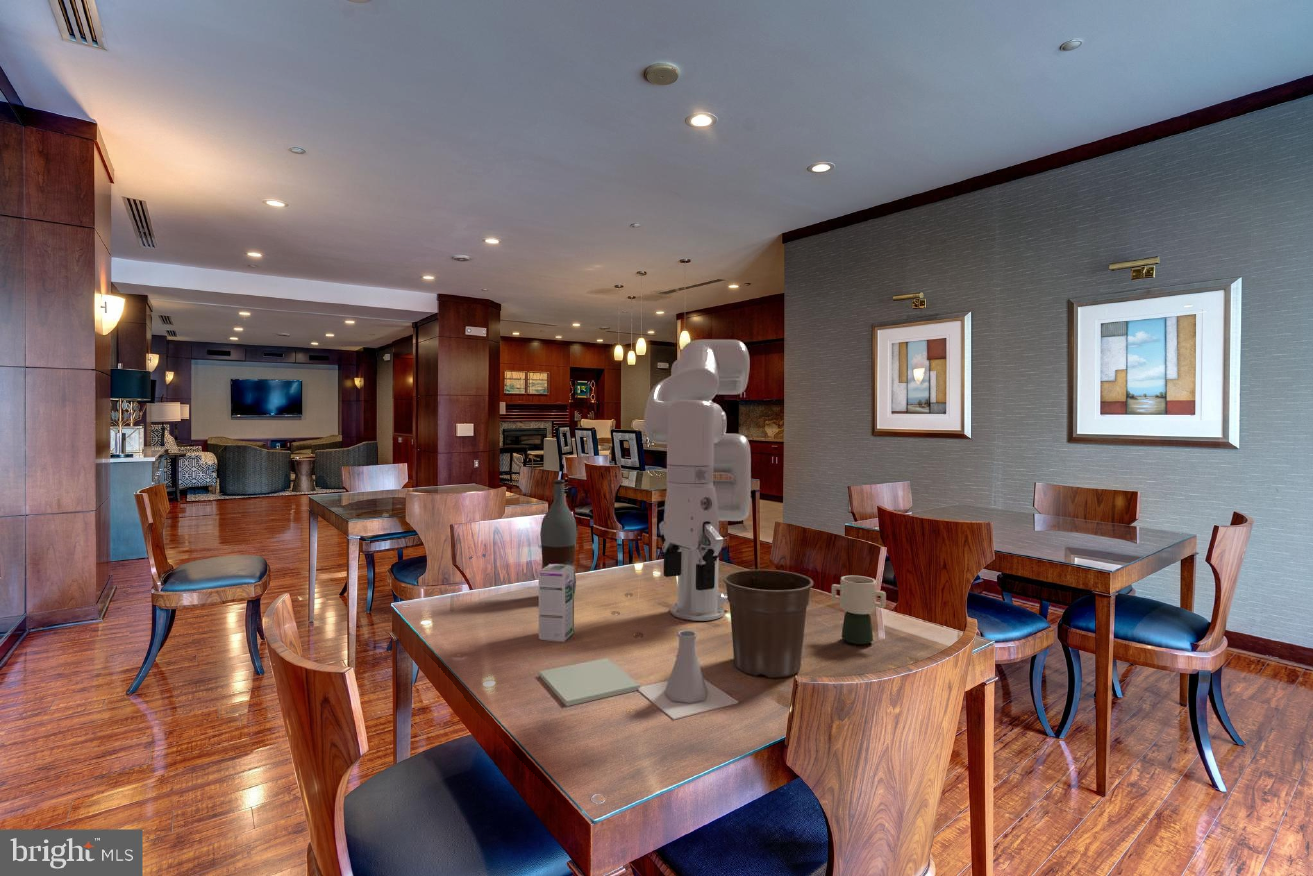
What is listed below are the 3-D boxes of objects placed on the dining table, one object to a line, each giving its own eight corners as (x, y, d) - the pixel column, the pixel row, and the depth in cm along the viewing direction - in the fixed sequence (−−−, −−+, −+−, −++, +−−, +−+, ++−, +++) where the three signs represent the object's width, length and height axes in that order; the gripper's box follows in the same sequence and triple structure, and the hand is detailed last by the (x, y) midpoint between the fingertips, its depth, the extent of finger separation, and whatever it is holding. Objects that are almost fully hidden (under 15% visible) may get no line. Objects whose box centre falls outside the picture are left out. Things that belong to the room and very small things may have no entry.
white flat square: (696, 675, 106) (696, 674, 106) (738, 703, 96) (738, 701, 96) (636, 689, 100) (636, 687, 100) (673, 720, 90) (673, 718, 90)
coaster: (607, 662, 112) (607, 658, 112) (640, 689, 100) (640, 684, 100) (539, 675, 105) (539, 671, 105) (566, 706, 94) (566, 701, 94)
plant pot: (703, 660, 113) (705, 575, 113) (764, 643, 123) (765, 564, 123) (768, 692, 100) (770, 595, 100) (829, 670, 110) (831, 582, 110)
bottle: (577, 603, 149) (579, 481, 148) (539, 604, 147) (541, 481, 147) (574, 592, 158) (576, 478, 158) (538, 594, 156) (540, 478, 156)
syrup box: (564, 642, 122) (565, 570, 121) (537, 640, 123) (538, 569, 123) (574, 633, 127) (575, 564, 127) (547, 630, 128) (548, 562, 128)
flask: (661, 685, 101) (662, 626, 101) (704, 684, 102) (705, 625, 102) (666, 705, 94) (667, 641, 94) (712, 704, 95) (713, 640, 95)
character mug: (888, 642, 125) (889, 579, 125) (881, 652, 119) (882, 587, 119) (835, 632, 131) (836, 572, 130) (825, 641, 125) (827, 579, 124)
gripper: (741, 479, 92) (739, 592, 92) (681, 472, 107) (679, 569, 107) (700, 480, 88) (698, 598, 88) (644, 473, 103) (642, 573, 103)
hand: (688, 582), depth 98 cm, fingers open, 9 cm apart
